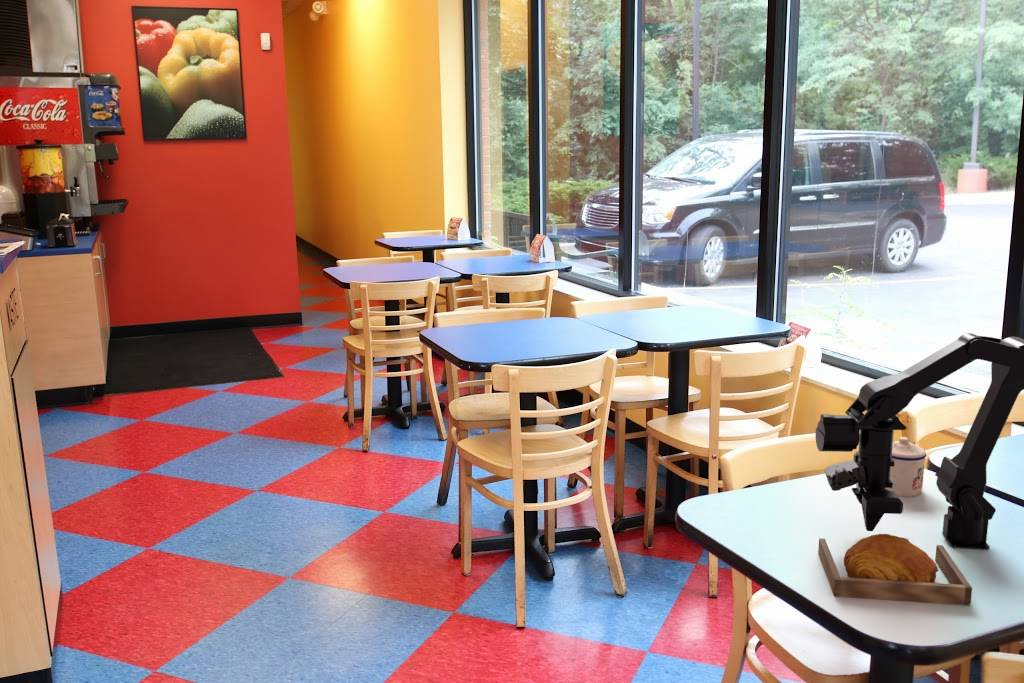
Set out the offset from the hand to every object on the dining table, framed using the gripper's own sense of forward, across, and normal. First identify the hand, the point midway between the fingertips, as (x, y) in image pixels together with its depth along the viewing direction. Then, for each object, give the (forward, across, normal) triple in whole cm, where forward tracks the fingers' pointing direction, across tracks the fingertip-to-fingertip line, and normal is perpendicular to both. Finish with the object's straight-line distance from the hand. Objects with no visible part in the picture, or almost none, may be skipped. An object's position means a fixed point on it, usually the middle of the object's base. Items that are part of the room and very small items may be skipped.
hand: (869, 530), depth 167 cm
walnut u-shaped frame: (+2, +15, 0) cm, 15 cm away
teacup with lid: (+2, -28, +13) cm, 31 cm away
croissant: (+2, +15, 0) cm, 16 cm away
